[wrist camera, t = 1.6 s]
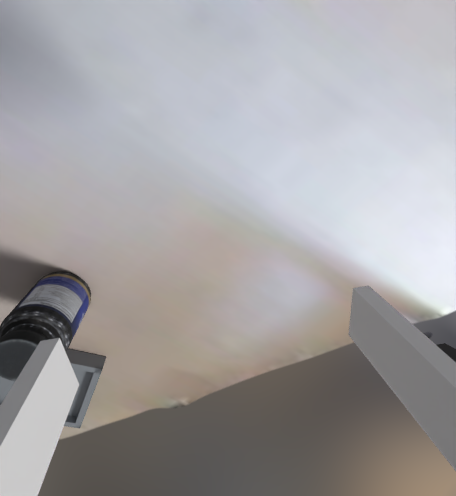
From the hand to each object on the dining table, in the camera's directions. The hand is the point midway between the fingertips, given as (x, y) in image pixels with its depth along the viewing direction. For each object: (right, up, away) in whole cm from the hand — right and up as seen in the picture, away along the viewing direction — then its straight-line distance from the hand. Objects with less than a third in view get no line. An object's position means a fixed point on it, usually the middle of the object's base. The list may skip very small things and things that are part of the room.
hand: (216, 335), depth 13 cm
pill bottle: (-19, -1, +22) cm, 29 cm away
